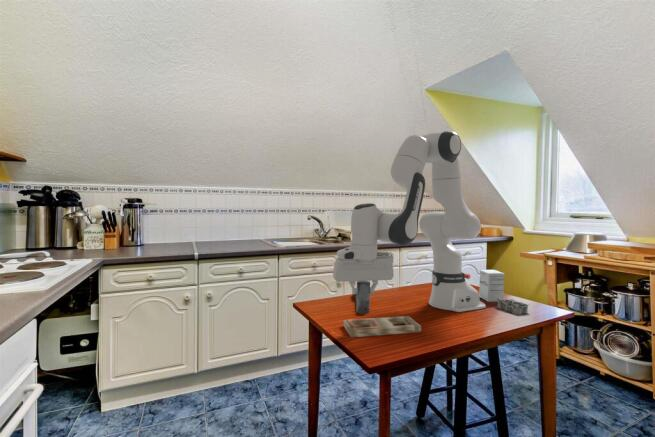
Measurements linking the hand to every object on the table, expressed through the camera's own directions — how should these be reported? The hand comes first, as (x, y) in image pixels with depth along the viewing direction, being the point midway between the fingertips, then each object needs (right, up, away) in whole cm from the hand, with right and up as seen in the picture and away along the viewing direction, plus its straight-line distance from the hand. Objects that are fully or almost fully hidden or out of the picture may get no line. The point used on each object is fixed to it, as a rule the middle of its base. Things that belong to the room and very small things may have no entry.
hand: (363, 293), depth 113 cm
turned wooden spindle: (+2, -11, +31) cm, 33 cm away
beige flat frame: (+6, -12, +2) cm, 14 cm away
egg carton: (+62, -12, +23) cm, 68 cm away
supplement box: (+61, -11, +37) cm, 72 cm away
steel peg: (0, -6, 0) cm, 6 cm away
